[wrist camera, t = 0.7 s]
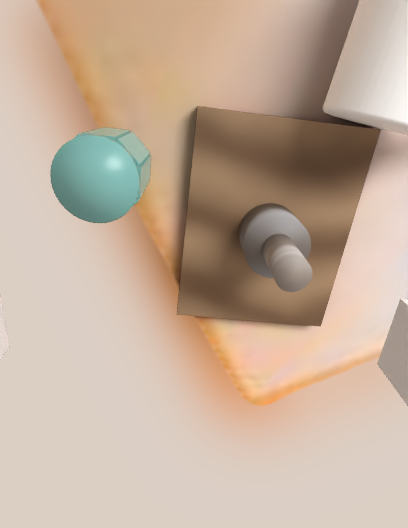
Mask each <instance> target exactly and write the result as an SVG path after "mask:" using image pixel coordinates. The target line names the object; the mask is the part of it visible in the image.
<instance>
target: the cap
mask: <svg viewBox="0 0 408 528" xmlns="http://www.w3.org/2000/svg"><path fill="white" fill-rule="evenodd" d="M149 153H150V152H149V151H148V149H147V148H146V147H145V146H144V144H143V143H142V142H141V141H140V140H139V138H138V137H137V136H136V135H135V134H134V132H131V133H130V130H124V129H116V128H108V127H103V128H99V129H96V130H91V131H87V132H84V133H81V134H78V135H77V136H76V137H75V138H74V139H72V140H71V141H69V142H67V143H66V144H64V145H63V146H62V147H61V148H60V149H59V150H58V152H57V153H56V155H55V157H54V159H53V162H52V165H51V183H52V187H53V190H54V193H55V194H56V197H57V198H58V200H59V201H60V203H61V204H62V205H63V206H64V207H65V209H67V210H68V211H69V212H70V213H71V214H73V215H74V216H76V217H78V218H80V219H82V220H85V221H88V222H93V223H107V222H111V221H114V220H117V219H118V218H121V217H122V216H123V215H125V214H126V213H127V212H128V211H129V210H130V208H131V207H132V206H133V205H134V204H136V203H137V202H138V201H139V199H140V197H141V196H142V194H143V192H144V190H145V188H146V187H147V185H148V183H149V181H150V168H151V155H149Z"/></svg>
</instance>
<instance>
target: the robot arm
mask: <svg viewBox="0 0 408 528" xmlns="http://www.w3.org/2000/svg"><path fill="white" fill-rule="evenodd" d="M9 347H10V346H9V341H8V335H7V330H6V324H5V318H4V313H3V307H2V302H1V296H0V359H1V358H2V357H3V355H4V354H5V353H6V351H7V350H8V349H9ZM378 365H379V367H380V368H381V370H382V371H383V372H384V374H385V375H386V377H387V378H388V379H389V381H390V382H391V383H392V384H393V386H394V388H395V389H396V390H397V392H398V393H399V394H400V396H401V397H402V398H403V400H404V401H405V403H406V404H407V406H408V299H400V302H399V305H398V307H397V310H396V313H395V316H394V319H393V321H392V324H391V327H390V330H389V333H388V335H387V338H386V341H385V344H384V346H383V349H382V352H381V355H380V358H379V361H378Z"/></svg>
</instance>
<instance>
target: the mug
mask: <svg viewBox="0 0 408 528" xmlns="http://www.w3.org/2000/svg"><path fill="white" fill-rule="evenodd" d="M323 111H324V112H325V113H327V114H329V115H332V116H335V117H338V118H341V119H345V120H348V121H352V122H355V123H359V124H363V125H367V126H371V127H375V128H379V129H384V130H388V131H392V132H397V133H402V134H406V135H408V0H359V3H358V6H357V9H356V12H355V15H354V18H353V20H352V23H351V26H350V29H349V32H348V35H347V38H346V41H345V44H344V47H343V50H342V53H341V56H340V58H339V61H338V64H337V67H336V70H335V73H334V76H333V79H332V82H331V85H330V88H329V91H328V94H327V96H326V99H325V102H324V105H323Z"/></svg>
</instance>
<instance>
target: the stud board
mask: <svg viewBox="0 0 408 528" xmlns="http://www.w3.org/2000/svg"><path fill="white" fill-rule="evenodd" d="M379 134H380V130H379V129H371V128H364V127H356V126H348V125H340V124H332V123H325V122H317V121H309V120H301V119H293V118H286V117H278V116H270V115H262V114H254V113H247V112H239V111H231V110H223V109H215V108H208V107H200V106H197V116H196V126H195V136H194V146H193V156H192V166H191V176H190V187H189V197H188V207H187V217H186V227H185V237H184V247H183V257H182V267H181V277H180V287H179V297H178V307H177V315H189V316H201V317H214V318H226V319H238V320H250V321H262V322H274V323H286V324H298V325H311V326H321V324H322V320H323V317H324V314H325V310H326V307H327V304H328V301H329V297H330V294H331V291H332V287H333V284H334V281H335V278H336V274H337V271H338V268H339V265H340V261H341V258H342V255H343V251H344V248H345V245H346V242H347V238H348V235H349V232H350V229H351V225H352V222H353V219H354V215H355V212H356V209H357V206H358V202H359V199H360V196H361V193H362V189H363V186H364V183H365V179H366V176H367V173H368V170H369V166H370V163H371V160H372V156H373V153H374V150H375V147H376V143H377V140H378V137H379Z"/></svg>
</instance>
